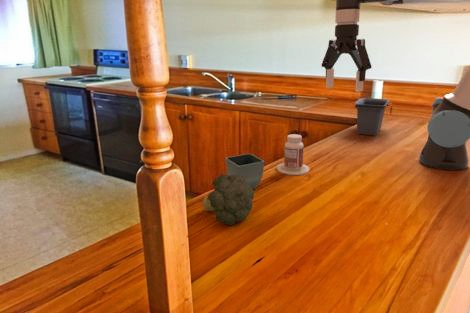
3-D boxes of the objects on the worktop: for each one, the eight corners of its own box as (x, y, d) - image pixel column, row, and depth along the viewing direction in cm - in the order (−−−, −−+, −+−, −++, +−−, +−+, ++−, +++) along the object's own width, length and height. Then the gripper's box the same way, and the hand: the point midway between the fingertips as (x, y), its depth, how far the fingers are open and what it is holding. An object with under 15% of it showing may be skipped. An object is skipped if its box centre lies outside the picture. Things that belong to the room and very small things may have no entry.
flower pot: (238, 195, 107) (238, 166, 104) (225, 185, 114) (224, 157, 111) (264, 189, 110) (265, 161, 108) (250, 180, 118) (250, 153, 115)
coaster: (316, 171, 125) (316, 169, 124) (288, 177, 120) (288, 175, 120) (296, 162, 134) (296, 160, 134) (270, 167, 129) (270, 165, 129)
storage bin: (358, 125, 188) (361, 96, 183) (391, 128, 181) (395, 98, 177) (350, 135, 170) (352, 103, 165) (386, 138, 163) (390, 106, 159)
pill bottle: (296, 163, 130) (298, 132, 127) (305, 169, 125) (307, 137, 121) (280, 165, 128) (281, 134, 125) (289, 171, 123) (290, 139, 119)
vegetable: (227, 191, 104) (267, 180, 94) (220, 235, 98) (262, 229, 88) (194, 174, 97) (233, 160, 87) (183, 221, 91) (224, 212, 81)
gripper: (386, 21, 113) (381, 91, 120) (328, 25, 134) (326, 85, 140) (369, 21, 110) (364, 94, 116) (312, 26, 131) (311, 87, 137)
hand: (343, 89), depth 128 cm, fingers open, 13 cm apart
